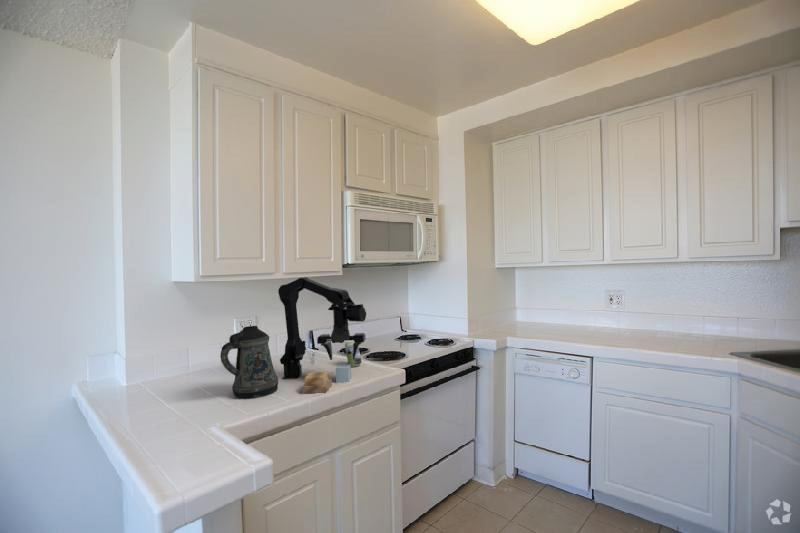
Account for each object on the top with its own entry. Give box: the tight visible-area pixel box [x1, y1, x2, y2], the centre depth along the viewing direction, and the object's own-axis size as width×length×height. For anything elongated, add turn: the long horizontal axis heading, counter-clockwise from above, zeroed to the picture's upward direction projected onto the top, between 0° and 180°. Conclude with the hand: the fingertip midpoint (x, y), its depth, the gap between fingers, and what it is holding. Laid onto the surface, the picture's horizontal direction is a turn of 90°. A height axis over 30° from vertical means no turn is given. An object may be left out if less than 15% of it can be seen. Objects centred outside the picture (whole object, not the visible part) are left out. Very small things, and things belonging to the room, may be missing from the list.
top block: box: [304, 371, 329, 386], centre depth 144 cm, size 7×7×3 cm
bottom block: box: [301, 378, 333, 395], centre depth 144 cm, size 9×9×3 cm
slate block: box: [335, 363, 352, 384], centre depth 153 cm, size 5×5×6 cm
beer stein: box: [219, 325, 279, 400], centre depth 143 cm, size 16×19×25 cm
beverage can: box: [344, 340, 362, 368], centre depth 175 cm, size 6×7×12 cm
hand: (342, 359), depth 153 cm, fingers open, 9 cm apart
